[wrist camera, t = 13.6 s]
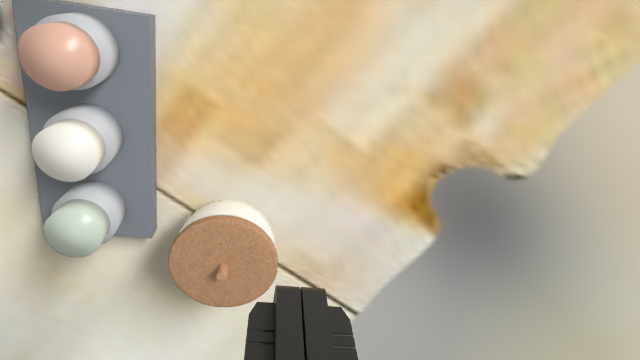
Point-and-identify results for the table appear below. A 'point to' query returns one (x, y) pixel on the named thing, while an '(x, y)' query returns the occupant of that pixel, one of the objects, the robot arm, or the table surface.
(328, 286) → the table surface
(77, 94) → the control board
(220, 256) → the lidded jar
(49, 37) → the knob
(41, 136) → the knob mid
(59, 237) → the knob
